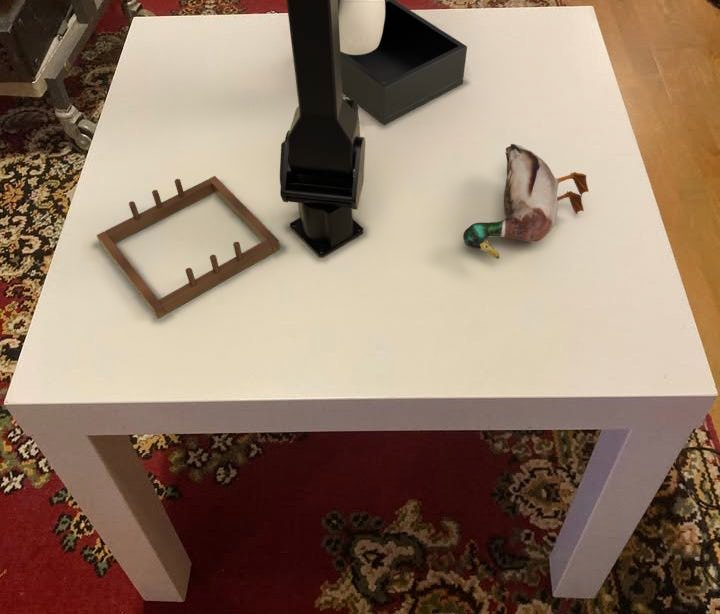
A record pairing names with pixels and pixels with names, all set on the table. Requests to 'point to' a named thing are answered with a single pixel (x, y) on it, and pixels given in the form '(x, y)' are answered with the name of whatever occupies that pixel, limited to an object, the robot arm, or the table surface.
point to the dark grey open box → (403, 66)
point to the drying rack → (194, 285)
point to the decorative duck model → (526, 201)
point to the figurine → (360, 25)
